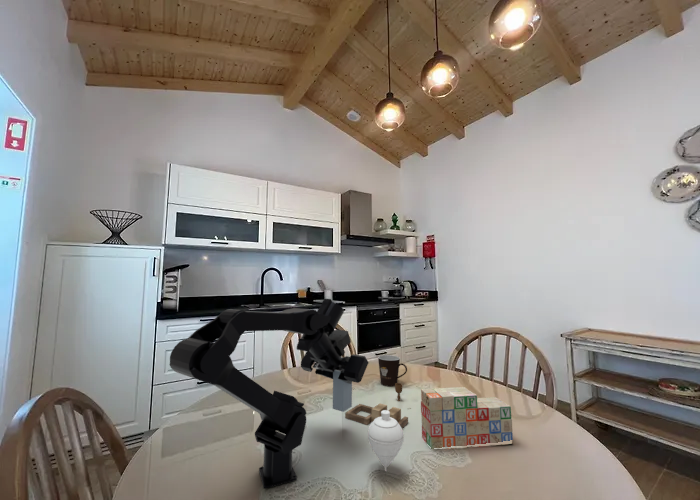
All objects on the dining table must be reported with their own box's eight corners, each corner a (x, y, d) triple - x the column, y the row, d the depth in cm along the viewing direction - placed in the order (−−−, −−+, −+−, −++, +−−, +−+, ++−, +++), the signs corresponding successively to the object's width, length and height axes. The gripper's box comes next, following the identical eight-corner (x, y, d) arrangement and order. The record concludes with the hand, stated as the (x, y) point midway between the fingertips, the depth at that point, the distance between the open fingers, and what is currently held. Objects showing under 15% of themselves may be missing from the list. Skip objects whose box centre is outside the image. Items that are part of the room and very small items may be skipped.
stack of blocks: (498, 433, 80) (496, 385, 81) (513, 446, 74) (511, 393, 75) (421, 437, 77) (420, 387, 79) (430, 451, 71) (429, 396, 72)
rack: (395, 434, 79) (395, 428, 79) (345, 418, 88) (345, 412, 88) (408, 422, 85) (408, 417, 85) (359, 408, 94) (359, 403, 94)
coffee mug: (374, 381, 120) (374, 356, 121) (392, 379, 124) (392, 354, 125) (389, 391, 110) (389, 363, 111) (409, 388, 113) (408, 361, 114)
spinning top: (400, 460, 67) (399, 404, 68) (407, 483, 59) (407, 419, 61) (365, 460, 67) (366, 404, 68) (369, 483, 59) (369, 419, 60)
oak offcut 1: (378, 426, 83) (378, 411, 83) (371, 423, 84) (371, 409, 85) (387, 419, 87) (387, 405, 88) (379, 417, 88) (379, 403, 89)
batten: (343, 411, 78) (343, 362, 79) (332, 408, 80) (333, 360, 81) (351, 406, 81) (352, 359, 83) (341, 403, 83) (341, 357, 85)
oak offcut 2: (393, 430, 81) (393, 415, 81) (385, 428, 82) (385, 412, 82) (401, 423, 85) (400, 408, 85) (393, 421, 86) (393, 406, 86)
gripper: (364, 324, 75) (385, 360, 83) (308, 318, 85) (331, 351, 93) (346, 363, 67) (370, 399, 75) (287, 351, 78) (314, 384, 86)
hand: (345, 380), depth 82 cm, fingers closed on batten, 3 cm apart
